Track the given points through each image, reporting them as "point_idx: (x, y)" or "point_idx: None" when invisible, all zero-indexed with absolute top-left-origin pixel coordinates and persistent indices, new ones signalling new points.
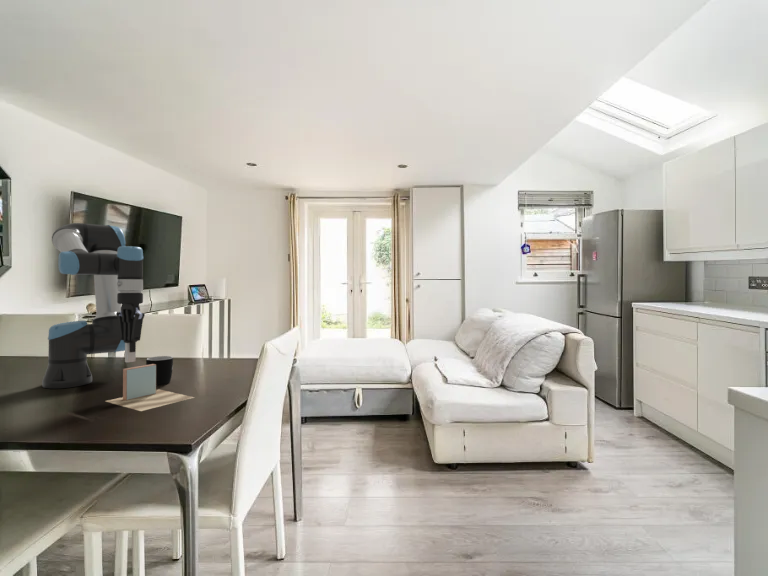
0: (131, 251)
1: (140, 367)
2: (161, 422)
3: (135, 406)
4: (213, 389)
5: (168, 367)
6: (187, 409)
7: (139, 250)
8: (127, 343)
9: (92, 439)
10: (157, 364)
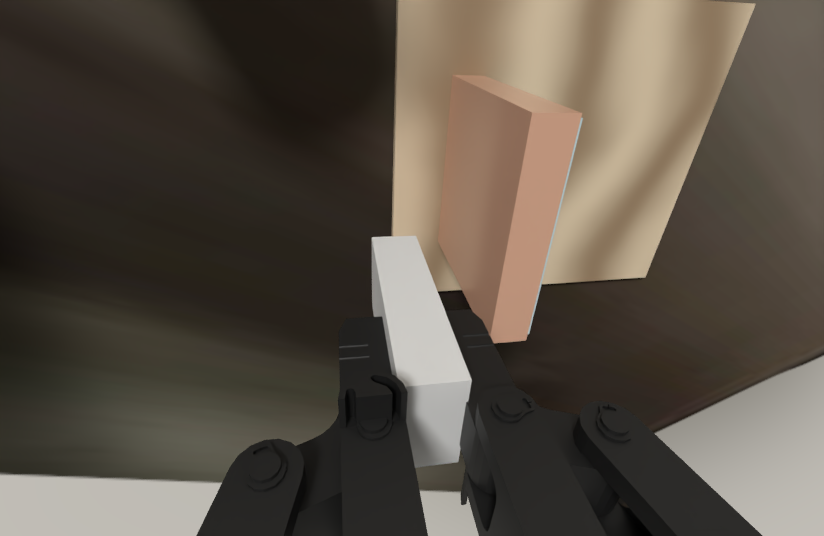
0: None
1: (546, 251)
2: (763, 281)
3: (580, 260)
4: None
5: None
6: (786, 150)
7: None
8: (457, 457)
9: (671, 411)
10: None
